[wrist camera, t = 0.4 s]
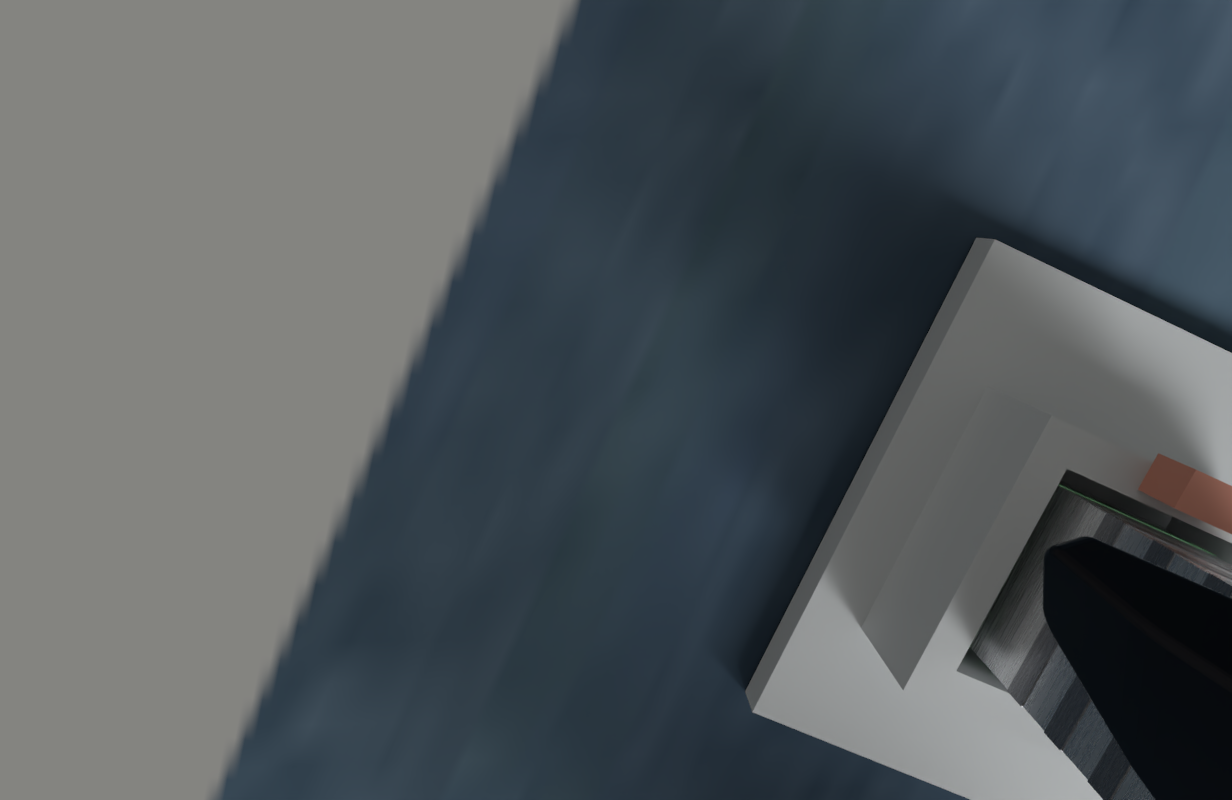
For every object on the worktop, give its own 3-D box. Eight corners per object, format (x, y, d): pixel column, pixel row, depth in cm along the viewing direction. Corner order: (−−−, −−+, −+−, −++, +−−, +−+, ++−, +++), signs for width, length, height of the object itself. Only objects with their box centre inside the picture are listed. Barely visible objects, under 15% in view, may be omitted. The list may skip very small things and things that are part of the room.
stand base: (1307, 396, 23) (1512, 451, 18) (1061, 818, 25) (1183, 974, 20) (976, 237, 22) (1096, 248, 17) (745, 691, 24) (790, 821, 19)
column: (1157, 522, 23) (1519, 722, 14) (1075, 667, 23) (1372, 943, 15) (1012, 457, 22) (1292, 621, 14) (932, 606, 23) (1151, 854, 14)
